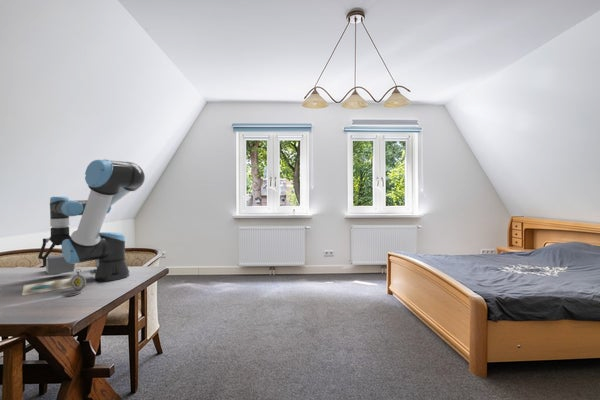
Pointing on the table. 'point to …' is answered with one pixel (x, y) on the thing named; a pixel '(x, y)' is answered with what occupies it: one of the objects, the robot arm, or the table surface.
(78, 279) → the pocket watch
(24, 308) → the table surface
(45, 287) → the board
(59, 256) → the block
